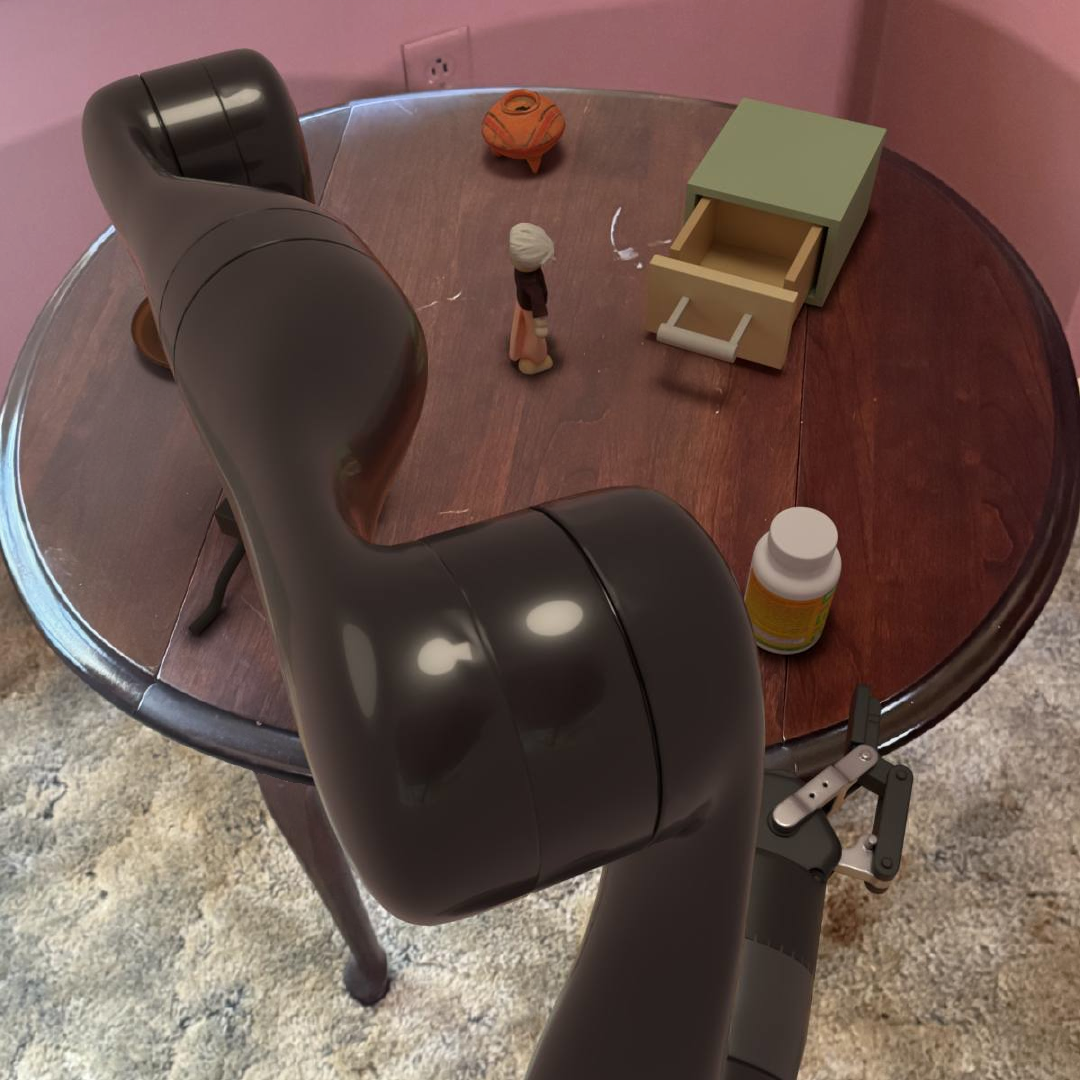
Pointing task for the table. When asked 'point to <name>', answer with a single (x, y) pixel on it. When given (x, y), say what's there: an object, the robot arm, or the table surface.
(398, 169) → the table surface
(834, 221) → the cabinet
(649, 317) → the drawer
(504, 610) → the robot arm
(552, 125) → the pot
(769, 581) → the supplement bottle
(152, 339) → the cup and saucer
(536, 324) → the grandmother figurine
